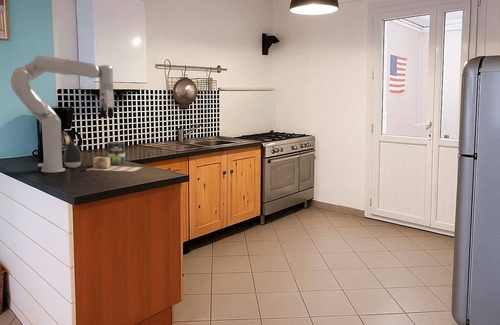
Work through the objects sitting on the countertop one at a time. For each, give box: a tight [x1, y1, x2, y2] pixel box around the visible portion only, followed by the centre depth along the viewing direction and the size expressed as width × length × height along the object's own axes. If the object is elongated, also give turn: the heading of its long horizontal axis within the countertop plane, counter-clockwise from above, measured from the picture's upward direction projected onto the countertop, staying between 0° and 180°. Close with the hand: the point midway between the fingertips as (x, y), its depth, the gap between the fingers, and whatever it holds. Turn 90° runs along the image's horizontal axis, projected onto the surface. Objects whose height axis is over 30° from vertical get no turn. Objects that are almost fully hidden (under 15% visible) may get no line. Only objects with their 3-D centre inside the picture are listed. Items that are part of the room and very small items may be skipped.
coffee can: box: [107, 141, 126, 166], centre depth 277 cm, size 10×10×14 cm
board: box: [85, 165, 144, 172], centre depth 259 cm, size 28×15×1 cm, turn 84°
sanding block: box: [92, 156, 111, 169], centre depth 259 cm, size 8×5×6 cm, turn 84°
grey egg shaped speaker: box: [62, 141, 83, 169], centre depth 267 cm, size 10×10×15 cm
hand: (107, 117), depth 259 cm, fingers open, 9 cm apart
